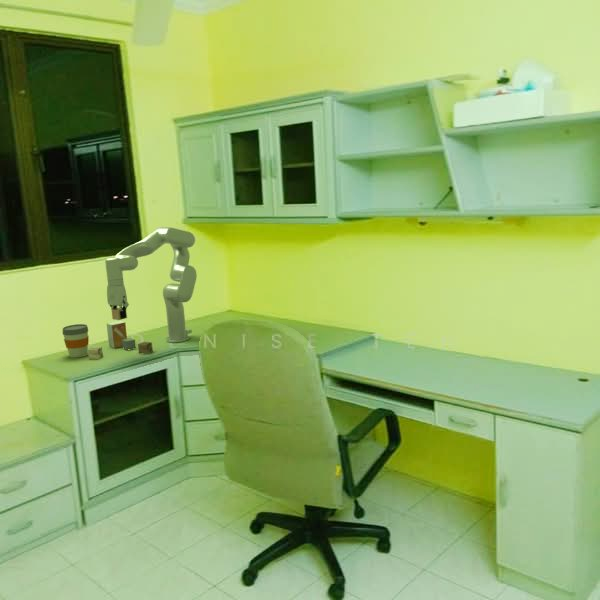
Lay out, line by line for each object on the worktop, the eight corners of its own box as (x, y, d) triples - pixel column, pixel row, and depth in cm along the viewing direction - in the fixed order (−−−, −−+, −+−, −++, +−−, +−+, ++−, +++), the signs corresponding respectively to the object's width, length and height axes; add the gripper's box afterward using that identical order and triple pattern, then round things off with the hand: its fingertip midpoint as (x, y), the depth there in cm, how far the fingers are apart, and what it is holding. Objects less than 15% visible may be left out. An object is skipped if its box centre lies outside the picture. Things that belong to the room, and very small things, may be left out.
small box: (114, 348, 320) (111, 325, 318) (108, 346, 325) (106, 323, 322) (128, 345, 326) (125, 322, 323) (122, 343, 330) (120, 320, 328)
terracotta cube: (120, 317, 305) (119, 307, 303) (127, 317, 302) (126, 308, 301) (112, 319, 300) (111, 309, 299) (119, 320, 298) (118, 310, 297)
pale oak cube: (93, 356, 308) (92, 346, 307) (103, 356, 307) (101, 346, 306) (89, 359, 303) (87, 349, 302) (98, 359, 303) (97, 349, 302)
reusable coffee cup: (76, 359, 303) (72, 331, 300) (60, 356, 310) (56, 328, 307) (96, 352, 314) (92, 325, 311) (80, 350, 320) (77, 323, 317)
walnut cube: (145, 350, 314) (144, 341, 313) (152, 351, 312) (151, 342, 311) (138, 353, 309) (137, 344, 308) (146, 354, 307) (145, 344, 306)
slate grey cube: (131, 346, 322) (130, 337, 321) (135, 348, 319) (134, 339, 318) (122, 348, 319) (121, 339, 318) (127, 350, 316) (126, 341, 315)
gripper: (98, 282, 299) (102, 318, 303) (121, 284, 290) (125, 321, 293) (110, 280, 305) (114, 314, 309) (133, 282, 296) (137, 317, 299)
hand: (119, 317), depth 301 cm, fingers closed on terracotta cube, 5 cm apart
